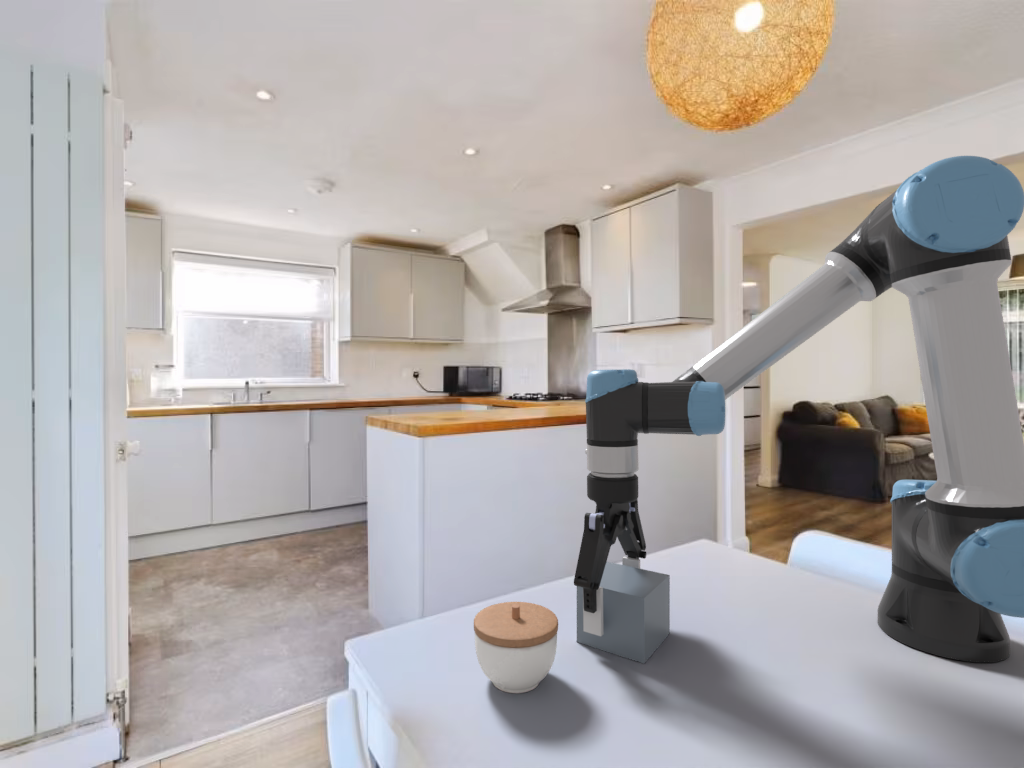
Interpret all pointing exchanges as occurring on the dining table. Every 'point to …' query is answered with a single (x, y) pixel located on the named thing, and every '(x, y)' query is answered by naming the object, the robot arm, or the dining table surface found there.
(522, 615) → the lidded jar
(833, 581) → the dining table surface
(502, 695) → the dining table surface
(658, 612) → the matte gray-blue box
